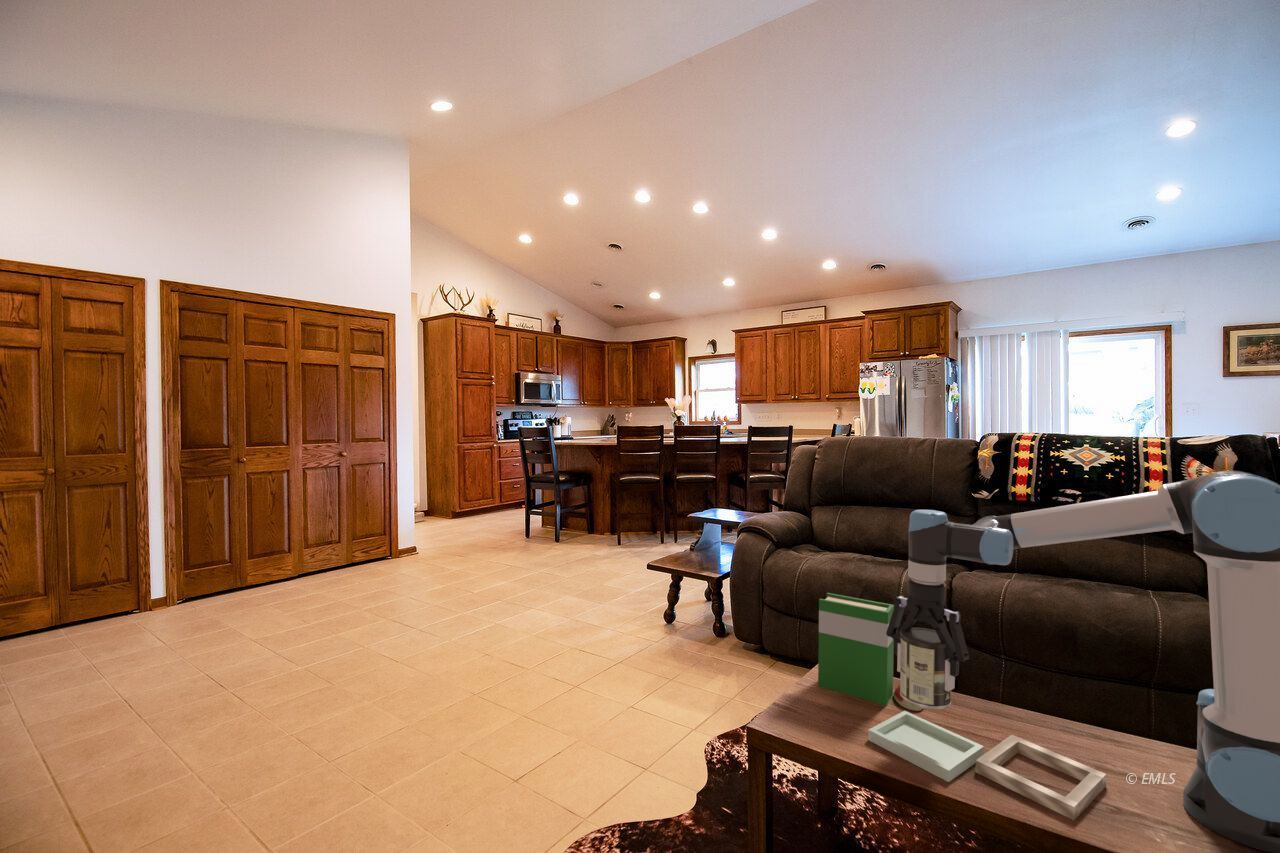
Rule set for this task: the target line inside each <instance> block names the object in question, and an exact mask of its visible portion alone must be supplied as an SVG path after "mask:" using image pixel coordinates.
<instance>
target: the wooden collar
mask: <svg viewBox="0 0 1280 853" xmlns="http://www.w3.org/2000/svg"><path fill="white" fill-rule="evenodd" d="M1017 754H1020V755H1022V756H1025V758H1029V759H1031V760H1033V761H1035V762H1038V763H1039V764H1042V765H1044V766H1047V767H1050V768H1051V769H1054V770H1056V771H1058V772H1061V773H1063V774H1065V775H1068V776H1069V777H1072V778H1074V779H1077V780H1078V781H1080V782H1079V783H1078V784H1077V785H1076V786H1075V787H1074V788H1073V789H1072V790H1071V791H1070V792H1069V793H1068V794H1066V795H1062V794H1060V793H1058V792H1056V791H1055V790H1053V789H1052V790H1051V789H1050V788H1047V787H1045V786H1043V785H1042V784H1038V783H1037V782H1036V781H1035V782H1034V781H1032V780H1030V779H1028V778H1026V777H1024V776H1022V775H1019V774H1017V773H1015V772H1013V771H1011V770H1009V769H1007V768H1005V767H1003V765H1004V764H1006V763H1007V762H1008V761H1009V760H1010V759H1011V758H1013V757H1015V756H1016V755H1017ZM975 773H976V774H978V775H980V776H982V777H985V778H987V779H989V780H990V781H993V782H995V783H997V784H999V785H1001V786H1003V787H1005V788H1006V789H1008V790H1010V791H1013V792H1015V793H1016V794H1017V793H1018V794H1019V795H1021V796H1023V797H1025V798H1027V799H1029V800H1031V801H1034V802H1036V803H1037V804H1039V805H1042V806H1043V807H1046V808H1047V809H1050V810H1052V811H1054V812H1055V813H1058V814H1060V815H1062V816H1064V817H1066V818H1068V819H1070V820H1072V821H1075V820H1077V819H1078V817H1079V816H1080V815H1081V814H1082V813H1083V812H1084V811H1085V810H1086V808H1087V807H1089V805H1091V803H1092V802H1093V801H1094V800H1095V799H1096V798H1097V797H1098V796H1099V794H1101V792H1103V790H1104V789H1106V787H1107V773H1104V772H1102V771H1101V770H1097V769H1095V768H1094V767H1093V768H1092V767H1091V766H1088V765H1085V764H1083V763H1081V762H1078V761H1076V760H1074V759H1071V758H1069V757H1067V756H1064V755H1062V754H1060V753H1057V752H1055V751H1053V750H1051V749H1050V750H1049V749H1048V748H1045V747H1042V746H1040V745H1038V744H1036V743H1032V742H1031V741H1028V740H1026V739H1023V738H1021V737H1019V736H1016V735H1014V734H1011V735H1009V736H1008V737H1006V738H1005V739H1004V740H1002V741H1000V742H999V743H998V744H997V745H995V746H994V747H992V748H991V749H989V750H988V751H987V752H984V755H982V756H981V757H980V758H978V759H977V760H976V763H975Z"/></svg>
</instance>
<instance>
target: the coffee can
mask: <svg viewBox="0 0 1280 853" xmlns="http://www.w3.org/2000/svg"><path fill="white" fill-rule="evenodd" d="M900 636H901V672H900V677H899V678H900V679H899V680H900V681H899V682H900V684H899V685H900V695H901V697H902V698H903V699H904V700H906V701H907V702H909V703H911V704H913V705H916V706H918V707H922V708H923V709H929V710H937V711H938V710H945V709H948V708H949V707H950V706H951V705H952V701H951V700H952V698H951V696H952V694H951V693H952V692H951V691H952V690H950V691H945V660H946V659H948V656H947V654H946V652H945V647H946V644H943V643H941V641H940V639H939V637H938V635H937V633H936V631H935V630H934V629H933V628H932V629H931V628H926V627H914V626H913V627H912V628H911V629H910V630H908V631H903V630H901V631H900Z"/></svg>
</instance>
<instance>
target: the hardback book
mask: <svg viewBox="0 0 1280 853" xmlns="http://www.w3.org/2000/svg"><path fill="white" fill-rule="evenodd" d="M825 597H826V598H825V599H823V598H819V599H818V658H817V659H818V662H817V663H818V664H817V665H818V666H817V667H818V668H817V669H818V671H817V672H818V673H817V675H818V676H817V677H818V678H817V680H818V681H817V684H818V685H817V687H819V688H823V689H826V690H830V691H834V692H837V693H840V694H843V695H848V696H850V697H855V698H858V699H862V700H865V701H869V702H872V703H875V704H879V705H883V706H886V707H887V706H888V704H889V702H890V701H891V700H892V697H893V696H894V639H893V638H891V637H888V636H887V635H886V632H887V629H888V626H889V623H890V619H891V616H892V613H893V610H894V607H895V606H894V604H891V603H885V602H879V601H873V600H869V599H864V598H858V597H854V596H847V595H843V594H837V593H831V592H827V593H826V596H825Z"/></svg>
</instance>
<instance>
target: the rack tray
mask: <svg viewBox="0 0 1280 853" xmlns="http://www.w3.org/2000/svg"><path fill="white" fill-rule="evenodd" d="M867 732H868V736H867V738H868V739H867V740H868V741H869V742H871V743H873V744H876V745H877V746H879V747H881V748H882V749H885V750H887V751H888V752H890V753H892V754H894V755H896V756H898V757H900V758H901V759H903V760H905V761H907V762H909V763H911V764H913V765H915V766H917V767H919V768H921V769H922V770H924V771H926V772H928V773H930V774H932V775H934V776H936V777H938V778H939V779H941V780H943V781H945V782H947V783H950V782H952V781H953V780H954V779H955V778H957V777H959V776H960V775H961V774H962V773H964V772H965V771H967V770H968V769H969V768H970V767H972V766H973V765H976V760H977V759H978V758H980V757H981V756H982V755H984V754H985V746H984V745H982V744H979V743H978V742H975V741H974V740H973V741H972V740H971V739H969V738H966V737H965V736H962V735H960V734H958V733H955V732H954V731H951V730H949V729H946V728H944V727H942V726H940V725H937V724H935V723H933V722H931V721H928V720H927V719H924V718H922V717H920V716H919V715H918V716H917V715H915V714H913V713H911V712H909V711H906V710H903V711H901V712H899V713H897V714H895V715H893V716H891V717H889V718H888V719H886V720H884V721H882V722H880V723H879V724H877V725H875V726H873V727H871V728H869V729H868V731H867Z"/></svg>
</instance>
